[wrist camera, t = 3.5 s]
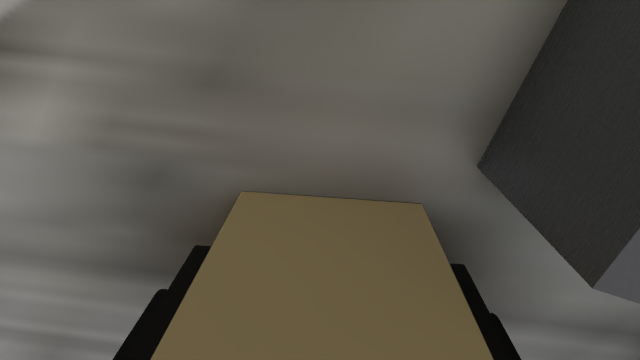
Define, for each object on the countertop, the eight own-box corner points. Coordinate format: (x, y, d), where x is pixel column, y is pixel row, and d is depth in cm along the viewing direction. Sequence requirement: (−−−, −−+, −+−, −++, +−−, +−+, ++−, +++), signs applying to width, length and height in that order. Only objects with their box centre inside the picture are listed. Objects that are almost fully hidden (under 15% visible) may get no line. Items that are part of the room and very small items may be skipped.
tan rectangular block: (403, 299, 14) (500, 695, 6) (243, 288, 14) (116, 662, 6) (421, 203, 13) (586, 561, 4) (241, 191, 13) (64, 518, 4)
